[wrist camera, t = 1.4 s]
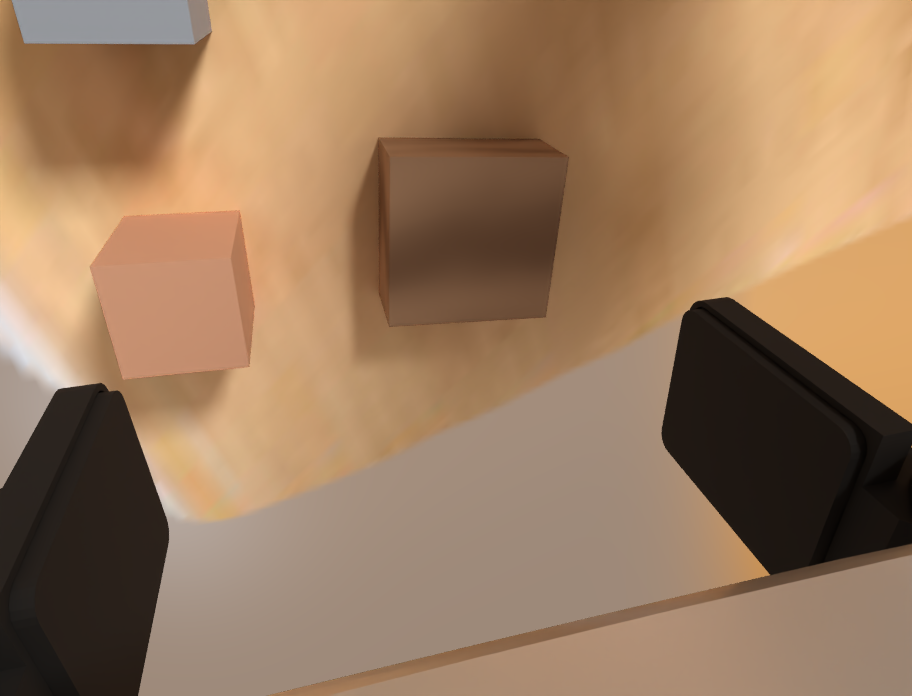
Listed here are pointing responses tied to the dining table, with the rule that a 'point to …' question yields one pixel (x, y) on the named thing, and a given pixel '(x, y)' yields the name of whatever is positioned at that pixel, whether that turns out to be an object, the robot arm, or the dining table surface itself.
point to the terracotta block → (176, 293)
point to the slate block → (113, 21)
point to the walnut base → (467, 228)
